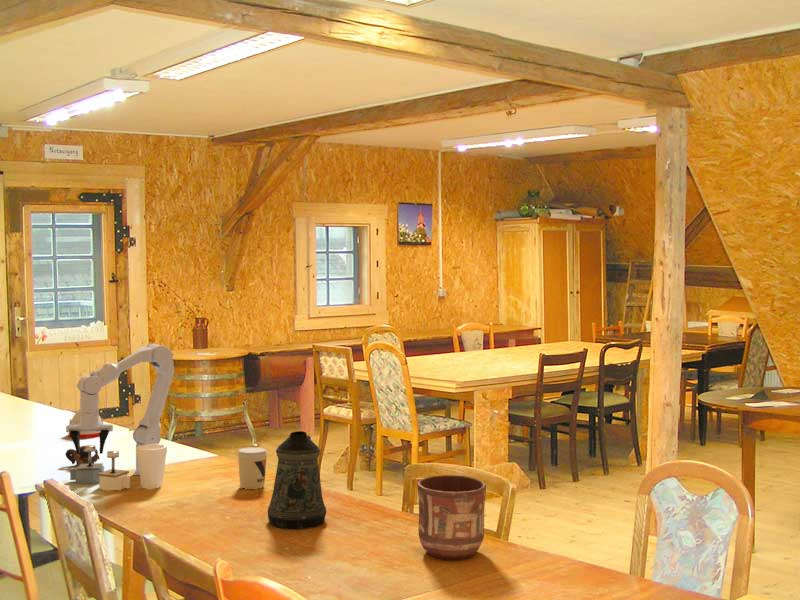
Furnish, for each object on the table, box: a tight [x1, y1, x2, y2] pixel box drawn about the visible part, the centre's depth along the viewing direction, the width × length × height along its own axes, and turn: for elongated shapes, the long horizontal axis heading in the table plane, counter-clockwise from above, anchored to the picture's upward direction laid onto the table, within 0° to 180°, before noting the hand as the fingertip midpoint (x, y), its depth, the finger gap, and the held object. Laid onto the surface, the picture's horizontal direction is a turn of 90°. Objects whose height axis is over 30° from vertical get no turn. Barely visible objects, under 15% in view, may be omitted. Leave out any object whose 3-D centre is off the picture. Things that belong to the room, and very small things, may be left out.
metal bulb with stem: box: [83, 444, 97, 467], centre depth 313 cm, size 4×4×7 cm
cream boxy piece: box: [97, 468, 131, 491], centre depth 304 cm, size 10×8×5 cm
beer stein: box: [267, 430, 327, 531], centre depth 269 cm, size 16×19×25 cm
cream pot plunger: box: [106, 450, 120, 473], centre depth 304 cm, size 4×4×7 cm
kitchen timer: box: [68, 409, 104, 439], centre depth 391 cm, size 14×14×15 cm
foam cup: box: [135, 443, 168, 490], centre depth 306 cm, size 10×9×13 cm
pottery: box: [416, 474, 487, 561], centre depth 241 cm, size 18×18×18 cm
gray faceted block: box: [69, 462, 105, 485], centre depth 313 cm, size 10×8×5 cm
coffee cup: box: [237, 446, 268, 490], centre depth 307 cm, size 9×9×12 cm
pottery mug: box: [65, 445, 100, 468], centre depth 334 cm, size 12×10×8 cm
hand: (89, 453), depth 313 cm, fingers open, 7 cm apart
